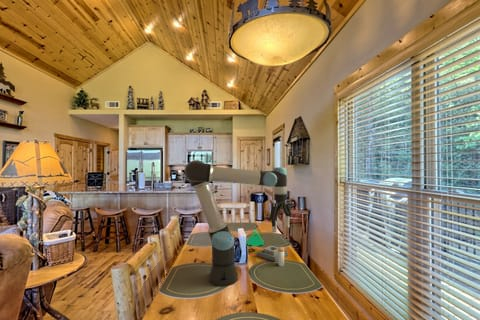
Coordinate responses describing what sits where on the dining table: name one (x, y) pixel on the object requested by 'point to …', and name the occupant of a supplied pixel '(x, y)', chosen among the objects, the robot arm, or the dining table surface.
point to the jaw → (280, 256)
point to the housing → (270, 253)
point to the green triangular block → (255, 240)
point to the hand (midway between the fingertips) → (281, 229)
